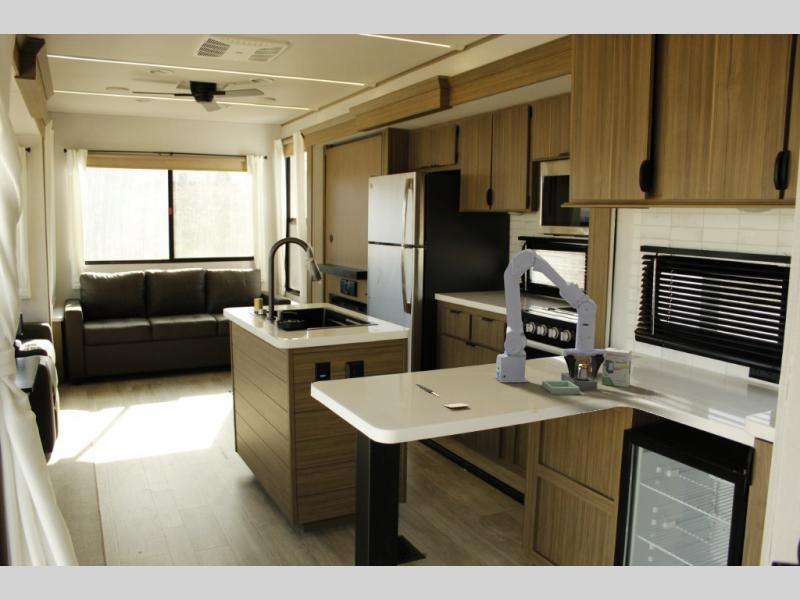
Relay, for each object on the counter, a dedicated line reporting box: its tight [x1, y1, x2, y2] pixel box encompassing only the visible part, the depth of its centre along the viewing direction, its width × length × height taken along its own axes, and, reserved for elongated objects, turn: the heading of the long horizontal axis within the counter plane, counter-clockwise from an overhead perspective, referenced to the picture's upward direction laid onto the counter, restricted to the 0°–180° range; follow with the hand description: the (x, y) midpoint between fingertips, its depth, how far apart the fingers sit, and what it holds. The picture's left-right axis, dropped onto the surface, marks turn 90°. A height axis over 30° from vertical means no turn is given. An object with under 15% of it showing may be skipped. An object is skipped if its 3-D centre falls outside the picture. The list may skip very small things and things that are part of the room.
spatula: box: [415, 383, 470, 409], centre depth 208 cm, size 6×29×2 cm, turn 24°
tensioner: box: [560, 362, 598, 391], centre depth 226 cm, size 7×13×7 cm, turn 8°
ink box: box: [601, 347, 633, 388], centre depth 228 cm, size 9×5×12 cm, turn 62°
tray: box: [541, 380, 581, 395], centre depth 218 cm, size 9×9×2 cm
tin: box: [574, 356, 592, 374], centre depth 242 cm, size 15×3×8 cm, turn 143°
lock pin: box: [578, 364, 589, 381], centre depth 223 cm, size 3×3×8 cm
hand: (582, 377), depth 223 cm, fingers open, 7 cm apart
